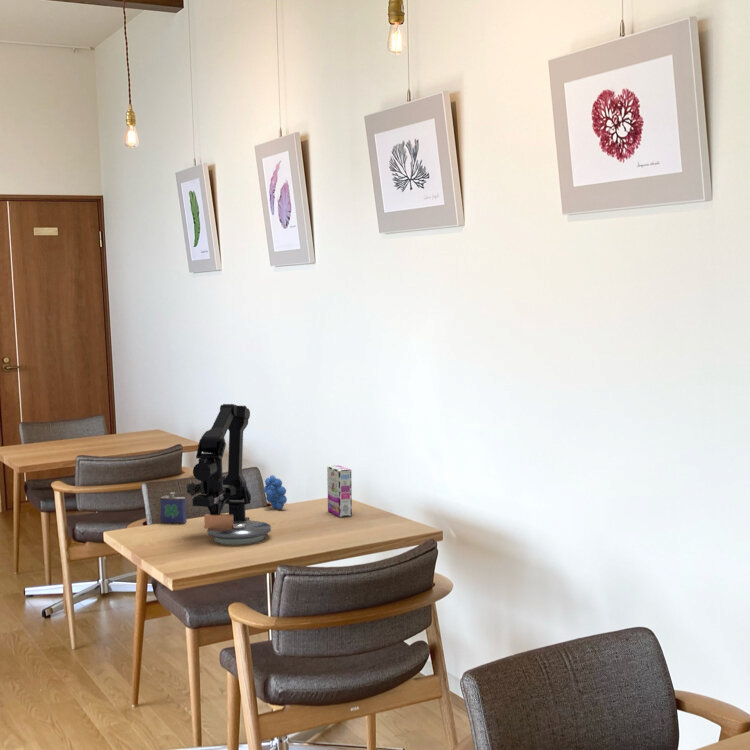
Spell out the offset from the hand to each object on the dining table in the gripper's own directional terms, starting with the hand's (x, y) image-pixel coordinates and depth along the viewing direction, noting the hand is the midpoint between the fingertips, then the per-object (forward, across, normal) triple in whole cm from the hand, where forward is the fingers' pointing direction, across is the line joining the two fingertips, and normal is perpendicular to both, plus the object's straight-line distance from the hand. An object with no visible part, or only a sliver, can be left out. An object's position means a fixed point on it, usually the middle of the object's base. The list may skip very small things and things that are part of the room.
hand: (215, 521), depth 315 cm
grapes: (+6, -41, +1) cm, 41 cm away
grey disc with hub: (+2, +1, +8) cm, 9 cm away
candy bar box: (+6, -40, +28) cm, 49 cm away
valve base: (+4, +1, +9) cm, 10 cm away
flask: (+5, -12, -22) cm, 26 cm away
